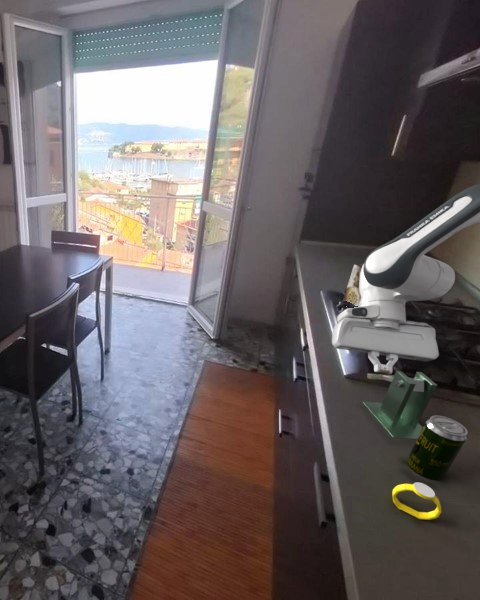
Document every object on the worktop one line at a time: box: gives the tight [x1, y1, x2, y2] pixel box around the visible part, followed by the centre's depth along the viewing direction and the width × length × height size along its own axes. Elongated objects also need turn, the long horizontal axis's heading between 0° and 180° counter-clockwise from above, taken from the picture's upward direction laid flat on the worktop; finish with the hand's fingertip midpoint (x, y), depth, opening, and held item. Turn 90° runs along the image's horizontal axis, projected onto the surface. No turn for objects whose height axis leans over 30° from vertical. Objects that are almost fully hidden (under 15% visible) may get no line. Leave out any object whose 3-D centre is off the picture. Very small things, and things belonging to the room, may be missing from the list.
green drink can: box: [406, 414, 469, 482], centre depth 66 cm, size 5×5×12 cm
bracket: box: [362, 370, 438, 440], centre depth 77 cm, size 11×8×13 cm
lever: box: [366, 372, 424, 392], centre depth 79 cm, size 11×6×2 cm, turn 172°
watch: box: [392, 481, 442, 521], centre depth 61 cm, size 6×3×6 cm, turn 51°
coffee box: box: [342, 263, 364, 307], centre depth 127 cm, size 9×6×16 cm
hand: (383, 372), depth 84 cm, fingers closed
